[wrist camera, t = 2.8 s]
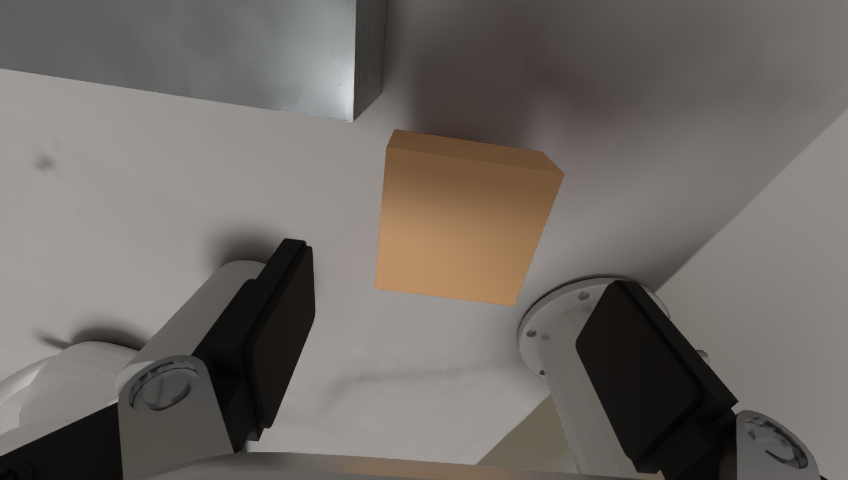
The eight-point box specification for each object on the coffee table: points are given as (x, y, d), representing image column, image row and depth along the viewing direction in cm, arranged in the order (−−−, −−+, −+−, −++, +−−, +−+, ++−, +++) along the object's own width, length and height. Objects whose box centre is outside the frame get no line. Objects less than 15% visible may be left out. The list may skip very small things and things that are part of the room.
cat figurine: (185, 394, 37) (55, 585, 24) (62, 375, 35) (-148, 568, 22) (174, 341, 32) (6, 541, 19) (32, 316, 30) (-254, 517, 18)
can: (245, 237, 25) (116, 369, 15) (323, 291, 28) (259, 435, 18) (201, 288, 28) (69, 429, 18) (276, 333, 31) (198, 478, 21)
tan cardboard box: (515, 124, 20) (564, 173, 13) (488, 221, 24) (513, 306, 16) (404, 106, 20) (386, 147, 12) (394, 208, 24) (374, 288, 16)
